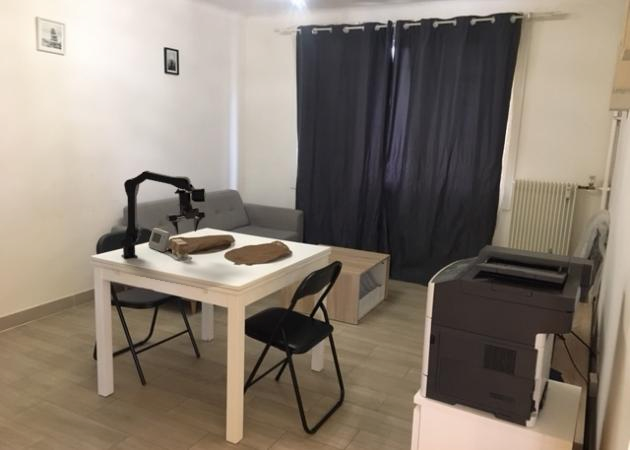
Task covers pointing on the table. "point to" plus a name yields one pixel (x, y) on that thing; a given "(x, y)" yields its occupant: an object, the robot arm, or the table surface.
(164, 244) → the digital clock
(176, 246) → the tan rectangular block
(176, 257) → the peg stand
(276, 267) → the table surface
